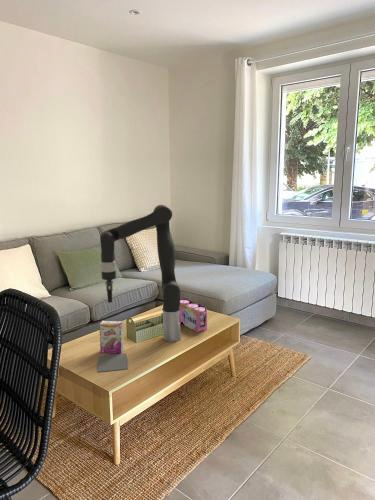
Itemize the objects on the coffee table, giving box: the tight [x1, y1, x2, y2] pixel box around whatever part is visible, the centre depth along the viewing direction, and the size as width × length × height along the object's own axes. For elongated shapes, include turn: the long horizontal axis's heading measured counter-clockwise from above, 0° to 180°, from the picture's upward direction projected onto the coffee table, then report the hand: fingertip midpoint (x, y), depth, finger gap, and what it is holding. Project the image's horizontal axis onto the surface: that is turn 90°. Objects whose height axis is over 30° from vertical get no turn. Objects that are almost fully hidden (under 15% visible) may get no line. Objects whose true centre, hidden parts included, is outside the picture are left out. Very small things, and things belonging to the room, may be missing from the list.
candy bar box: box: [99, 320, 124, 355], centre depth 202 cm, size 11×5×16 cm, turn 86°
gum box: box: [179, 297, 208, 333], centre depth 237 cm, size 24×8×14 cm, turn 36°
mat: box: [97, 352, 129, 373], centre depth 192 cm, size 14×16×1 cm
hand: (110, 300), depth 206 cm, fingers open, 4 cm apart
